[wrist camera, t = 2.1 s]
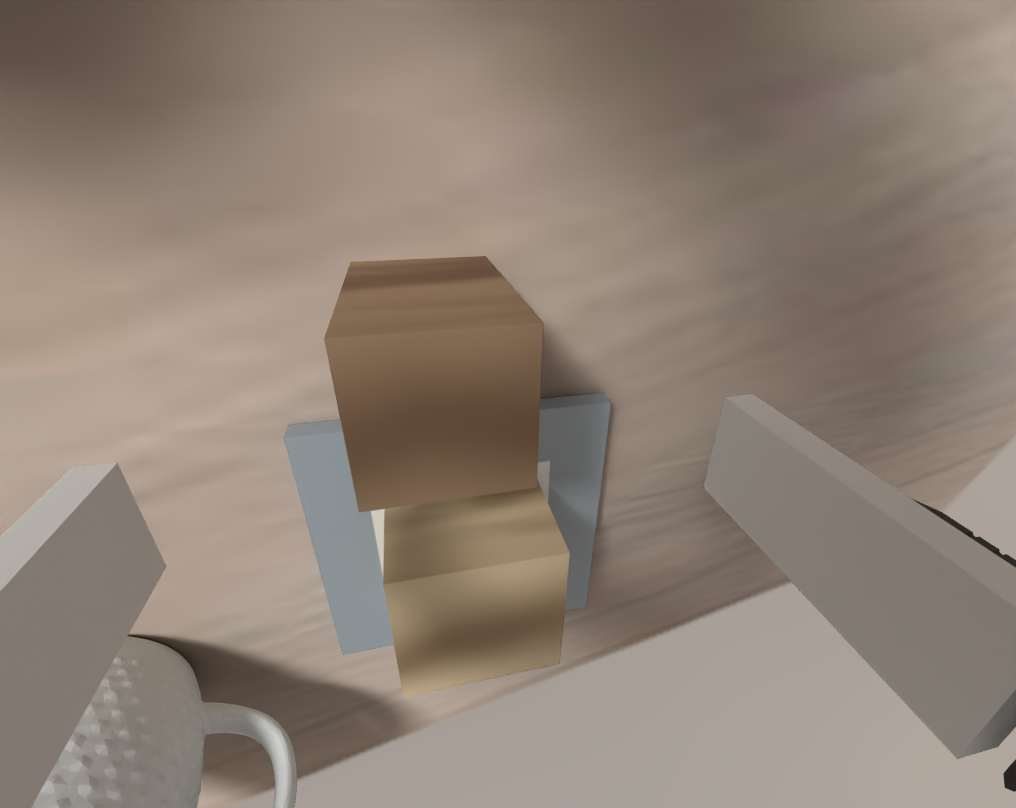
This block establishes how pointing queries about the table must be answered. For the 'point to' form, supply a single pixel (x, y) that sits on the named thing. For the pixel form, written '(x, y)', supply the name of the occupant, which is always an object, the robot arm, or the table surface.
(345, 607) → the blueprint board
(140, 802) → the mug
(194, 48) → the table surface
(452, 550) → the oak block
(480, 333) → the walnut block
